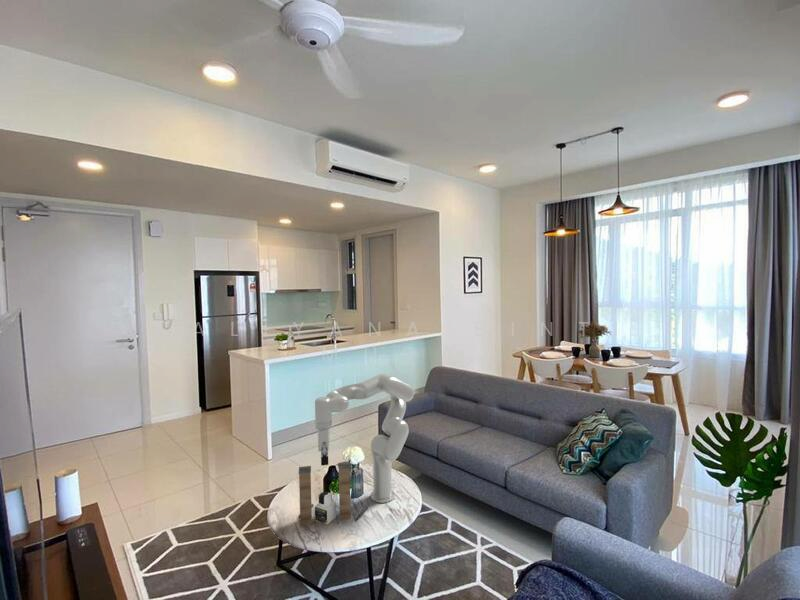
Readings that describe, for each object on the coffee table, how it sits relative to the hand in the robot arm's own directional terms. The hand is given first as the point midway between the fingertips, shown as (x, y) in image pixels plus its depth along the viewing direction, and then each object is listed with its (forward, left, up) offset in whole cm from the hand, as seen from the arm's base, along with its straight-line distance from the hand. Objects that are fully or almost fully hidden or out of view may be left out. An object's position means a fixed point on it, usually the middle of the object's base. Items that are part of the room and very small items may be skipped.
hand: (324, 460), depth 179 cm
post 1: (+5, -8, -28) cm, 29 cm away
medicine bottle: (0, 0, -28) cm, 28 cm away
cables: (-5, +1, -28) cm, 28 cm away
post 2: (-5, +7, -28) cm, 29 cm away
